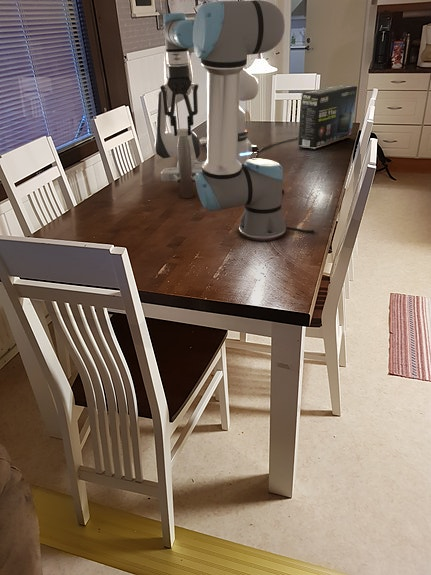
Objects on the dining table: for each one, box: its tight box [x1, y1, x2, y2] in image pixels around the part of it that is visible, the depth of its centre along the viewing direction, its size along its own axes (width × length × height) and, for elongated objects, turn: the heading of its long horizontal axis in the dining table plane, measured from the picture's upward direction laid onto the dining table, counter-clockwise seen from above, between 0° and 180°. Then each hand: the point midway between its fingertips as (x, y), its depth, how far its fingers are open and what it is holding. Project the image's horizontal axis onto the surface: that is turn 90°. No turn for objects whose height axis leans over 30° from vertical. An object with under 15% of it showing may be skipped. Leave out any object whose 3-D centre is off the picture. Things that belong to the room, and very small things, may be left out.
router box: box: [297, 84, 358, 151], centre depth 238 cm, size 36×11×27 cm, turn 134°
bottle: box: [177, 136, 194, 199], centre depth 175 cm, size 5×5×25 cm
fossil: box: [199, 136, 207, 146], centre depth 250 cm, size 18×11×15 cm
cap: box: [176, 128, 188, 136], centre depth 169 cm, size 4×4×2 cm
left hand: (186, 180), depth 178 cm, fingers closed on bottle, 5 cm apart
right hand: (182, 134), depth 170 cm, fingers closed on cap, 4 cm apart
